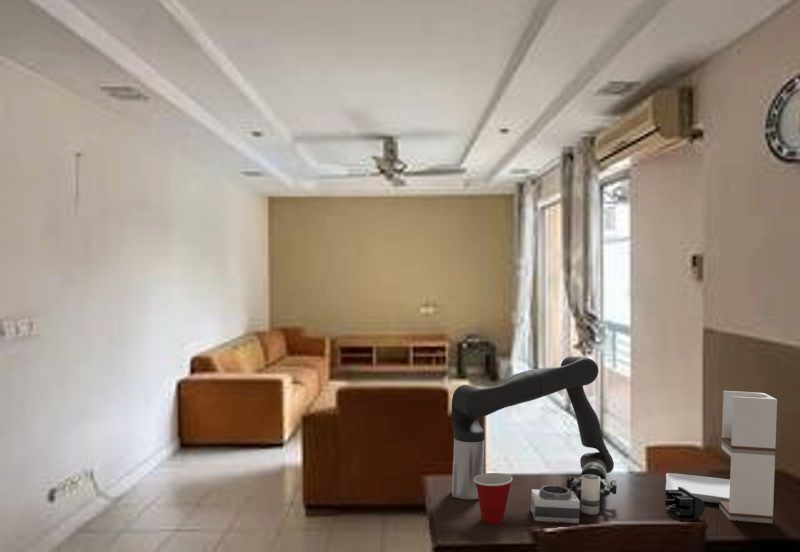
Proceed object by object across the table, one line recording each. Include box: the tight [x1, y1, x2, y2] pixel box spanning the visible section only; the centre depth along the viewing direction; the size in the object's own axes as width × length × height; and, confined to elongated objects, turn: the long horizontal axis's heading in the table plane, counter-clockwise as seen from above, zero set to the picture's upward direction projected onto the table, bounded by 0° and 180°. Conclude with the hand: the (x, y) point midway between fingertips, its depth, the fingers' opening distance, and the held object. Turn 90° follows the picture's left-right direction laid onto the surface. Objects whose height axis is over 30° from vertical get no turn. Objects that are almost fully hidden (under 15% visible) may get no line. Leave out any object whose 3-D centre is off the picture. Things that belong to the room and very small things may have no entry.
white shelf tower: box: [718, 390, 778, 524], centre depth 209 cm, size 11×11×35 cm
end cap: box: [664, 487, 706, 521], centre depth 208 cm, size 10×7×7 cm
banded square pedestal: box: [530, 484, 581, 524], centre depth 203 cm, size 12×9×8 cm
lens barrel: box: [580, 474, 601, 515], centre depth 208 cm, size 5×5×10 cm
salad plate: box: [665, 472, 730, 504], centre depth 228 cm, size 21×21×3 cm
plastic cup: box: [473, 472, 514, 525], centre depth 198 cm, size 11×11×12 cm
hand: (590, 491), depth 207 cm, fingers open, 8 cm apart
